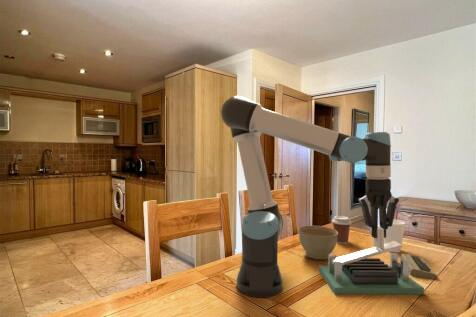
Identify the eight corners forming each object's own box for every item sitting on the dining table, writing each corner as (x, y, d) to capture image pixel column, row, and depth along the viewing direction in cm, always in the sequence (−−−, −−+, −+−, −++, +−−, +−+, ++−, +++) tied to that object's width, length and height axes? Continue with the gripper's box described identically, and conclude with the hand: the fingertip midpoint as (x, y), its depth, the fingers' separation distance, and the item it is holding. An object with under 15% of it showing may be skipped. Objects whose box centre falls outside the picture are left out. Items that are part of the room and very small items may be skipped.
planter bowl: (341, 264, 106) (341, 237, 105) (299, 261, 108) (299, 235, 108) (333, 250, 121) (334, 226, 121) (297, 247, 124) (297, 224, 124)
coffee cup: (335, 244, 128) (335, 219, 128) (328, 238, 137) (329, 215, 137) (354, 244, 128) (354, 219, 128) (346, 238, 138) (346, 215, 137)
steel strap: (335, 268, 90) (334, 263, 90) (331, 263, 94) (330, 258, 94) (402, 248, 90) (401, 243, 90) (395, 244, 94) (394, 239, 94)
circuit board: (334, 293, 84) (334, 287, 84) (318, 271, 100) (318, 265, 100) (423, 294, 84) (424, 287, 84) (394, 271, 100) (394, 266, 100)
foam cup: (404, 248, 123) (405, 220, 123) (404, 255, 116) (405, 225, 115) (381, 244, 128) (381, 217, 128) (379, 250, 121) (380, 222, 120)
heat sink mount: (338, 287, 86) (338, 264, 86) (326, 270, 98) (326, 250, 98) (413, 287, 86) (413, 264, 86) (391, 271, 98) (392, 250, 98)
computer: (437, 280, 94) (437, 271, 94) (410, 276, 97) (410, 267, 97) (423, 263, 109) (423, 255, 109) (400, 260, 112) (400, 252, 111)
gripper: (363, 179, 87) (364, 251, 88) (405, 178, 87) (405, 250, 88) (353, 177, 95) (354, 243, 95) (391, 176, 95) (392, 242, 95)
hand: (378, 246), depth 92 cm, fingers closed
